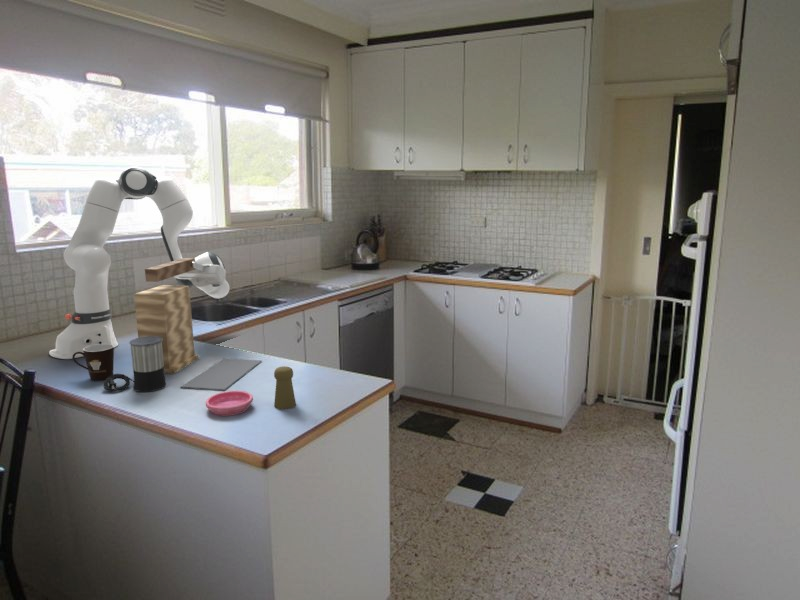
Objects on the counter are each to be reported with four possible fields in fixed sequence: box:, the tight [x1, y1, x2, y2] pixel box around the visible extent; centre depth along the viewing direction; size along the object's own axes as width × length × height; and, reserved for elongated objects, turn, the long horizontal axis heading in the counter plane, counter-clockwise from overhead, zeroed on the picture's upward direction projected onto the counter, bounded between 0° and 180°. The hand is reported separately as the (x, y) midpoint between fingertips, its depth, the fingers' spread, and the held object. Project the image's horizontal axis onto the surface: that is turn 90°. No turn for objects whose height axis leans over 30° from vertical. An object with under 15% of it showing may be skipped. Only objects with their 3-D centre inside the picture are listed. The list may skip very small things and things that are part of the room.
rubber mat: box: [180, 358, 262, 392], centre depth 184 cm, size 28×14×1 cm, turn 171°
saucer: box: [205, 390, 254, 417], centre depth 156 cm, size 12×12×3 cm
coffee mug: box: [72, 344, 115, 382], centre depth 180 cm, size 12×9×10 cm
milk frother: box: [102, 336, 167, 393], centre depth 170 cm, size 14×16×15 cm
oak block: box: [133, 284, 200, 375], centre depth 190 cm, size 16×13×26 cm
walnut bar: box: [144, 257, 196, 283], centre depth 192 cm, size 24×4×4 cm, turn 171°
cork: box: [273, 366, 297, 410], centre depth 157 cm, size 6×6×11 cm
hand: (185, 263), depth 201 cm, fingers closed on walnut bar, 4 cm apart
